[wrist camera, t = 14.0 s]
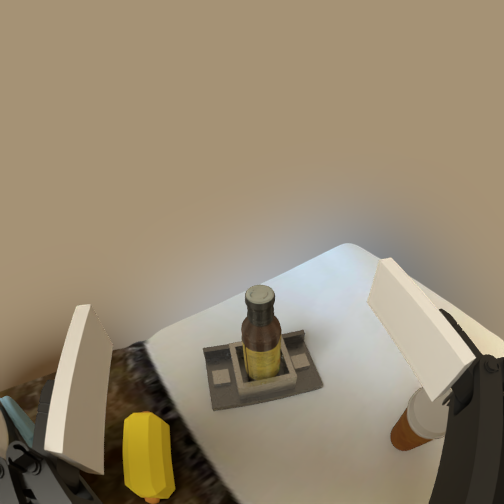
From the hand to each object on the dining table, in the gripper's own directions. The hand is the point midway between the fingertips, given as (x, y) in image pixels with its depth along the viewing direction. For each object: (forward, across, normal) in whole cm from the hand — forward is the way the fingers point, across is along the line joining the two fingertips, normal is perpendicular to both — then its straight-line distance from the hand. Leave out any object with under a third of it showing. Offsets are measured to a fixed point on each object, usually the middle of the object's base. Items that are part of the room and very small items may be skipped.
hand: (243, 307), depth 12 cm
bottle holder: (+19, +5, -38) cm, 43 cm away
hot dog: (+4, -17, -38) cm, 42 cm away
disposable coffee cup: (-3, +26, -38) cm, 46 cm away
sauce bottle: (+19, +5, -37) cm, 42 cm away
